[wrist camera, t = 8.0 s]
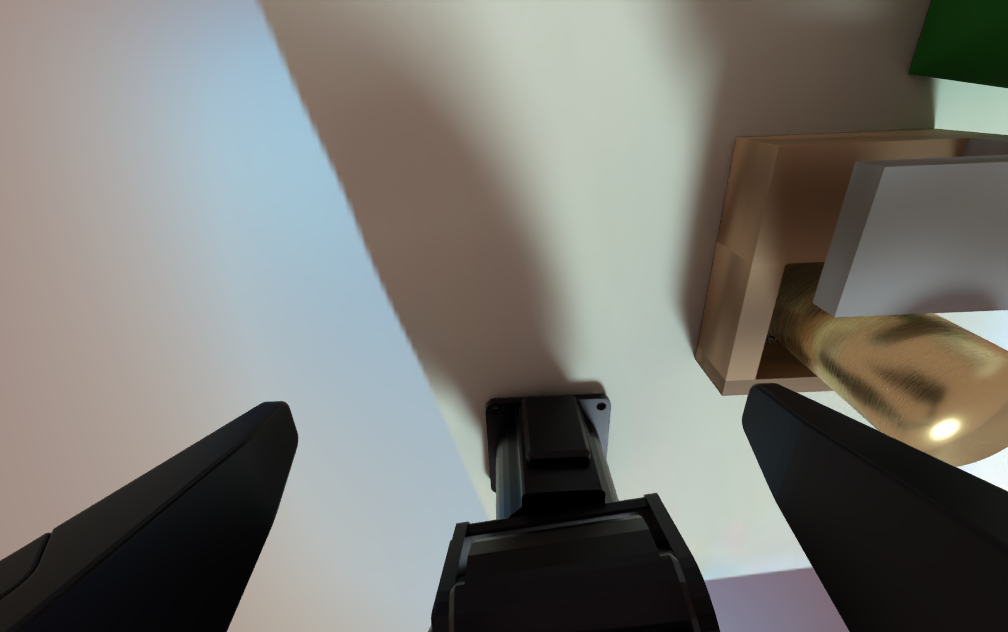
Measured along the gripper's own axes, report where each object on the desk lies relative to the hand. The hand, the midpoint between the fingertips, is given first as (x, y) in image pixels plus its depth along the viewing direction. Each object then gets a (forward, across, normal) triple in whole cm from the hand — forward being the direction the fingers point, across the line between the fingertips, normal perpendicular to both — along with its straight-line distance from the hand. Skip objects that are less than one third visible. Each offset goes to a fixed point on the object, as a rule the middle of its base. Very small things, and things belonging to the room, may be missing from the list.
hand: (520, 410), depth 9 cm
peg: (+12, -13, +3) cm, 18 cm away
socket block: (+12, -13, +2) cm, 18 cm away
